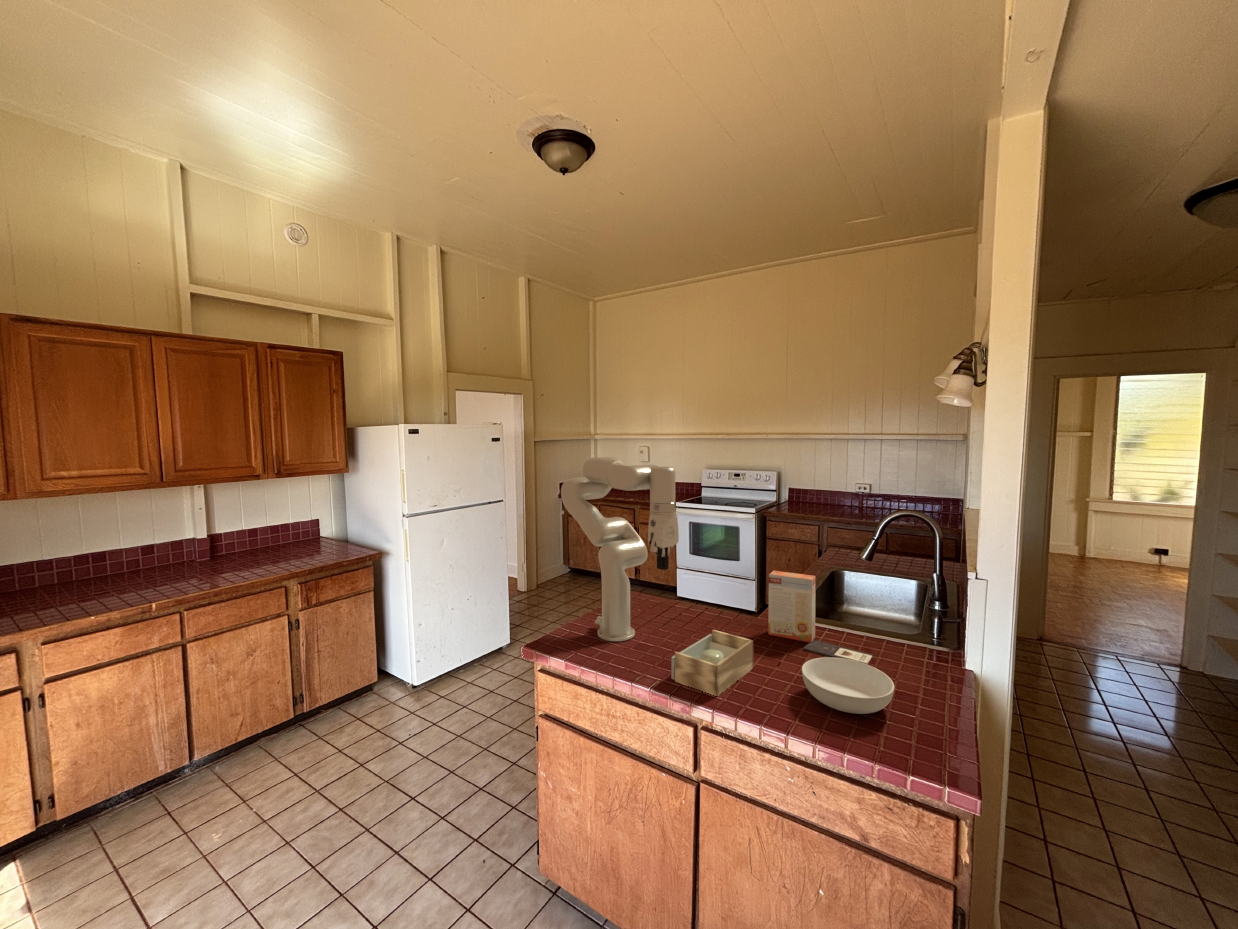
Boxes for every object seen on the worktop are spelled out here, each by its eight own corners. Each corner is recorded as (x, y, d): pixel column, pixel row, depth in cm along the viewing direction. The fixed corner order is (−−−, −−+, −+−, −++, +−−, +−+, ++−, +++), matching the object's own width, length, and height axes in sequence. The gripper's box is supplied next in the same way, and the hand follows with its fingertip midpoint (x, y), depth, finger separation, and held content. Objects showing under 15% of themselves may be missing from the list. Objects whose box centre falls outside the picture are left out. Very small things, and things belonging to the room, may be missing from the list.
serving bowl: (850, 735, 109) (850, 705, 109) (783, 691, 129) (784, 665, 128) (914, 714, 118) (914, 686, 117) (842, 675, 137) (843, 651, 136)
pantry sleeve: (674, 681, 134) (674, 652, 133) (713, 655, 150) (713, 629, 150) (717, 697, 126) (717, 666, 125) (753, 667, 142) (753, 640, 141)
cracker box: (815, 637, 163) (816, 575, 162) (811, 644, 158) (812, 579, 157) (772, 629, 171) (773, 569, 169) (767, 635, 165) (768, 573, 164)
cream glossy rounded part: (697, 670, 138) (697, 654, 138) (708, 662, 142) (708, 647, 142) (716, 676, 134) (716, 660, 134) (727, 668, 138) (727, 653, 138)
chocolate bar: (812, 639, 160) (873, 654, 149) (812, 642, 161) (873, 657, 149) (802, 648, 154) (865, 664, 142) (802, 651, 154) (865, 668, 142)
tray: (671, 678, 135) (671, 657, 134) (710, 653, 151) (710, 633, 150) (713, 694, 126) (713, 671, 126) (749, 665, 142) (749, 645, 142)
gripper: (658, 512, 139) (658, 576, 140) (686, 506, 150) (686, 566, 151) (637, 509, 144) (637, 572, 145) (666, 504, 155) (666, 562, 156)
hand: (662, 568), depth 148 cm, fingers closed
